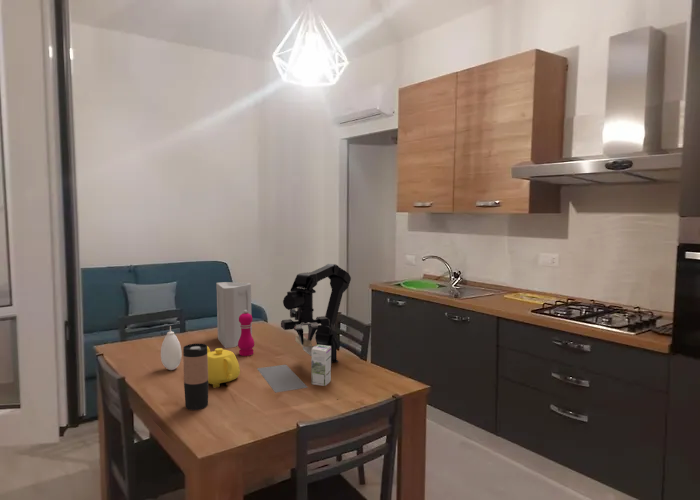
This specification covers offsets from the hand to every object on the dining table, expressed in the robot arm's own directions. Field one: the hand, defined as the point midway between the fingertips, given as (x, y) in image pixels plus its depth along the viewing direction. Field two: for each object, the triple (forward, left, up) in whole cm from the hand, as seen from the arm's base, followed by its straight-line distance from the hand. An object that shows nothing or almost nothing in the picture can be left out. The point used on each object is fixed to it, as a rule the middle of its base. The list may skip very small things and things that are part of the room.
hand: (305, 344), depth 196 cm
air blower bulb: (+49, -24, -11) cm, 56 cm away
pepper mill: (+17, -33, -11) cm, 39 cm away
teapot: (+34, -3, -11) cm, 36 cm away
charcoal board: (+12, +6, -11) cm, 17 cm away
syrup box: (0, +17, -11) cm, 21 cm away
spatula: (0, +2, -1) cm, 2 cm away
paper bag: (+17, -56, -11) cm, 59 cm away
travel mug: (+44, +18, -11) cm, 49 cm away
